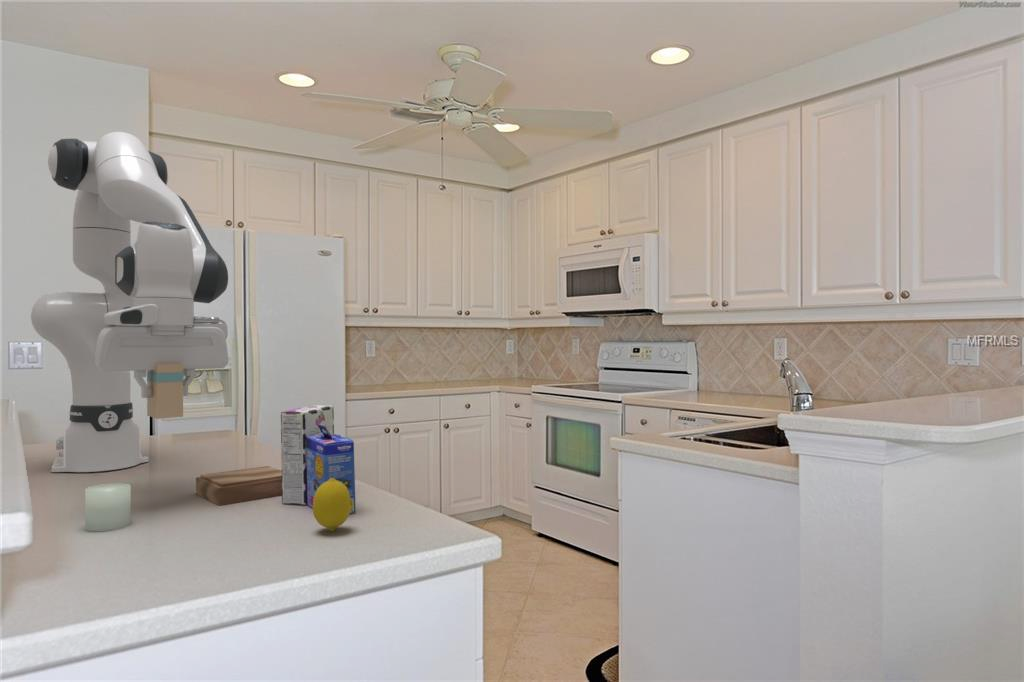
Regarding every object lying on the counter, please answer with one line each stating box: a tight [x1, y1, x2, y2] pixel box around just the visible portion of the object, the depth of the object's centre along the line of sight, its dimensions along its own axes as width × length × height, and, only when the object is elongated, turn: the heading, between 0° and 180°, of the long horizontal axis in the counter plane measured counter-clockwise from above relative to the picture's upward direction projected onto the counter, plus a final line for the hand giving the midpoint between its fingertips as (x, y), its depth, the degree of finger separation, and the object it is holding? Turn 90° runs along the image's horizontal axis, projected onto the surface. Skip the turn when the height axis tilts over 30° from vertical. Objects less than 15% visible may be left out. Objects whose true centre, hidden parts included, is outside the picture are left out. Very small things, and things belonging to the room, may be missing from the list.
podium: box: [195, 465, 282, 506], centre depth 123 cm, size 12×14×4 cm
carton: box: [146, 364, 185, 420], centre depth 112 cm, size 6×4×9 cm
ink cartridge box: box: [306, 424, 357, 514], centre depth 112 cm, size 10×6×14 cm, turn 35°
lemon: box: [312, 478, 351, 532], centre depth 99 cm, size 6×6×8 cm
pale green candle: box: [84, 482, 132, 533], centre depth 101 cm, size 6×6×6 cm
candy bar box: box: [280, 404, 335, 506], centre depth 120 cm, size 11×5×16 cm, turn 168°
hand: (165, 396), depth 112 cm, fingers closed on carton, 4 cm apart
